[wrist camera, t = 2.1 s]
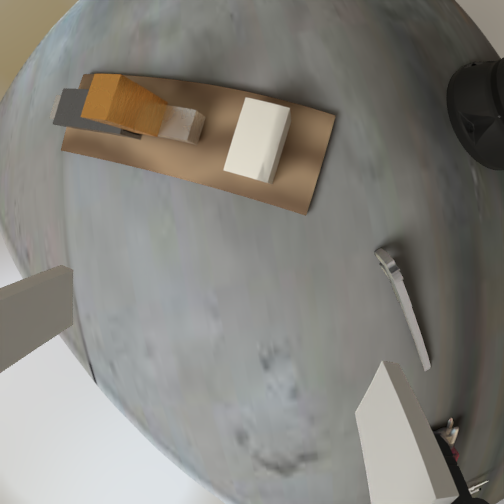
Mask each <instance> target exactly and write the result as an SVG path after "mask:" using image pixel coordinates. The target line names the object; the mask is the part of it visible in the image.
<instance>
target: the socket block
mask: <svg viewBox="0 0 504 504" xmlns="http://www.w3.org/2000/svg"><path fill="white" fill-rule="evenodd" d="M290 124H291V113H290V108H288V107H284V106H280V105H277V104H273V103H269V102H264V101H260V100H256V99H252V98H247V97H246V98H245V101H244V104H243V107H242V110H241V113H240V117H239V120H238V123H237V126H236V129H235V133H234V136H233V139H232V142H231V146H230V149H229V152H228V156H227V159H226V162H225V166H224V169H223V170H224V171H227V172H231V173H234V174H238V175H242V176H245V177H249V178H252V179H256V180H259V181H263V182H266V183H269V184H273V180H274V177H275V174H276V170H277V167H278V164H279V160H280V157H281V154H282V150H283V147H284V144H285V140H286V137H287V134H288V130H289V127H290Z"/></svg>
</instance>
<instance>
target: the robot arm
mask: <svg viewBox="0 0 504 504" xmlns="http://www.w3.org/2000/svg"><path fill="white" fill-rule="evenodd" d="M447 108H448V113H449V117H450V121H451V124H452V126H453V129H454V131H455V133H456V135H457V137H458V139H459V141H460V142H461V144H462V145H463V147H464V148H465V149H466V151H467V152H468V153H469V154H470V155H471V156H472V157H473V158H474V159H475V160H476V161H477V162H479V163H480V164H482V165H483V166H485V167H487V168H490V169H493V170H504V58H502V59H501V60H499V61H487V62H473V63H469V64H467V65H465V66H464V67H462V68H461V69H459V70H458V71H457V72H456V73H455V74H454V75H453V76H452V78H451V80H450V82H449V85H448V89H447ZM72 325H73V270H72V269H70V268H67V267H65V266H63V265H60V266H57V267H55V268H52V269H49V270H46V271H44V272H41V273H38V274H36V275H33V276H31V277H28V278H25V279H23V280H20V281H18V282H15V283H13V284H10V285H7V286H5V287H2V288H0V373H1V372H2V371H4V370H5V369H7V368H8V367H9V366H11V365H13V364H14V363H16V362H17V361H18V360H20V359H21V358H23V357H25V356H26V355H28V354H29V353H31V352H32V351H33V350H35V349H36V348H38V347H39V346H41V345H42V344H44V343H46V342H47V341H49V340H50V339H52V338H53V337H55V336H56V335H58V334H59V333H61V332H62V331H64V330H66V329H67V328H69V327H70V326H72ZM355 416H356V421H357V426H358V430H359V436H360V441H361V446H362V451H363V457H364V462H365V468H366V474H367V480H368V486H369V492H370V499H371V504H489V503H488V502H486V501H485V500H483V499H480V498H472V496H471V494H470V492H469V489H468V487H467V484H466V482H465V480H464V477H463V475H462V473H461V471H460V468H459V466H457V462H456V460H455V457H453V453H452V451H451V449H450V447H449V445H448V443H447V442H446V441H445V440H444V439H443V438H442V437H441V436H440V435H439V434H433V432H432V430H431V428H430V425H429V423H428V421H427V419H426V417H425V415H424V413H423V411H422V409H421V407H420V404H419V402H418V400H417V398H416V396H415V394H414V392H413V390H412V388H411V386H410V384H409V382H408V381H407V379H406V377H405V375H404V373H403V371H402V369H401V367H400V365H399V364H398V363H393V362H387V361H382V362H381V364H380V366H379V368H378V370H377V372H376V374H375V376H374V378H373V380H372V382H371V384H370V386H369V388H368V390H367V392H366V394H365V396H364V397H363V399H362V401H361V403H360V405H359V407H358V408H357V410H356V412H355Z"/></svg>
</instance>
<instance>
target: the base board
mask: <svg viewBox="0 0 504 504" xmlns="http://www.w3.org/2000/svg"><path fill="white" fill-rule="evenodd" d="M123 76H125V77H127V78H128V79H130V80H132V81H133V82H135V83H137V84H138V85H140V86H142V87H144V88H145V89H147V90H148V91H150V92H152V93H153V94H155V95H157V96H158V97H160V98H162V99H163V100H165V101H166V102H168V105H170V106H176V107H182V108H188V109H193V110H197V111H198V112H200V113H201V114H202V115H203V116H205V117H206V118H205V121H204V124H203V128H202V131H201V134H200V137H199V141H198V144H197V145H195V144H191V143H187V142H182V141H177V140H173V139H168V138H163V137H154V136H149V135H144V134H142V137H141V140H138V139H133V138H128V137H123V136H117V135H111V134H105V133H99V132H93V131H87V130H80V129H74V128H69V127H67V128H66V132H65V136H64V140H63V144H62V148H61V150H62V151H67V152H71V153H76V154H81V155H85V156H90V157H94V158H99V159H103V160H108V161H112V162H116V163H121V164H125V165H129V166H133V167H137V168H141V169H145V170H149V171H153V172H157V173H161V174H165V175H169V176H173V177H176V178H180V179H184V180H188V181H191V182H195V183H199V184H202V185H206V186H210V187H213V188H217V189H220V190H224V191H227V192H231V193H234V194H238V195H241V196H244V197H248V198H251V199H254V200H258V201H261V202H264V203H268V204H271V205H274V206H277V207H281V208H284V209H287V210H290V211H293V212H296V213H299V214H303V215H306V214H307V211H308V208H309V205H310V202H311V198H312V195H313V192H314V189H315V185H316V182H317V179H318V175H319V172H320V169H321V165H322V162H323V159H324V155H325V152H326V148H327V145H328V141H329V138H330V134H331V131H332V127H333V124H334V120H335V117H336V116H335V115H332V114H329V113H326V112H323V111H319V110H316V109H313V108H309V107H306V106H303V105H299V104H295V103H292V102H288V101H284V100H280V99H276V98H272V97H268V96H264V95H260V94H255V93H251V92H246V91H241V90H236V89H231V88H226V87H220V86H215V85H209V84H202V83H196V82H189V81H181V80H173V79H164V78H154V77H143V76H128V75H123ZM93 77H94V74H84V75H83V77H82V80H81V83H80V86H79V89H89V88H90V86H91V83H92V80H93ZM246 97H247V98H252V99H256V100H260V101H264V102H269V103H273V104H277V105H280V106H284V107H288V108H290V113H291V124H290V127H289V130H288V134H287V137H286V140H285V144H284V147H283V150H282V154H281V157H280V160H279V164H278V167H277V170H276V174H275V177H274V180H273V184H269V183H266V182H263V181H259V180H256V179H252V178H249V177H245V176H242V175H238V174H234V173H231V172H227V171H224V170H223V169H224V166H225V162H226V159H227V156H228V152H229V149H230V146H231V142H232V139H233V136H234V133H235V129H236V126H237V123H238V120H239V117H240V113H241V110H242V107H243V104H244V101H245V98H246Z"/></svg>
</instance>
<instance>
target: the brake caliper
mask: <svg viewBox="0 0 504 504" xmlns="http://www.w3.org/2000/svg"><path fill="white" fill-rule="evenodd" d="M452 425H453V419H452V418H451V419H449V421H448V424H447V427H446V428H440V429H438V430H436V431H434V432H433V434H439V435H440V436H441V437H442V438H443V439H444V440H445V441H446V442H447V443H448V445H449V447H450V449H451V451H452V453H453V457H455V460H456V462H457V459H458V457H459V453H458V452H457V450H456V449H455V448H454V444H455V440H456V437H457V434H458V431H459V427H454V428H451V427H452Z"/></svg>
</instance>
